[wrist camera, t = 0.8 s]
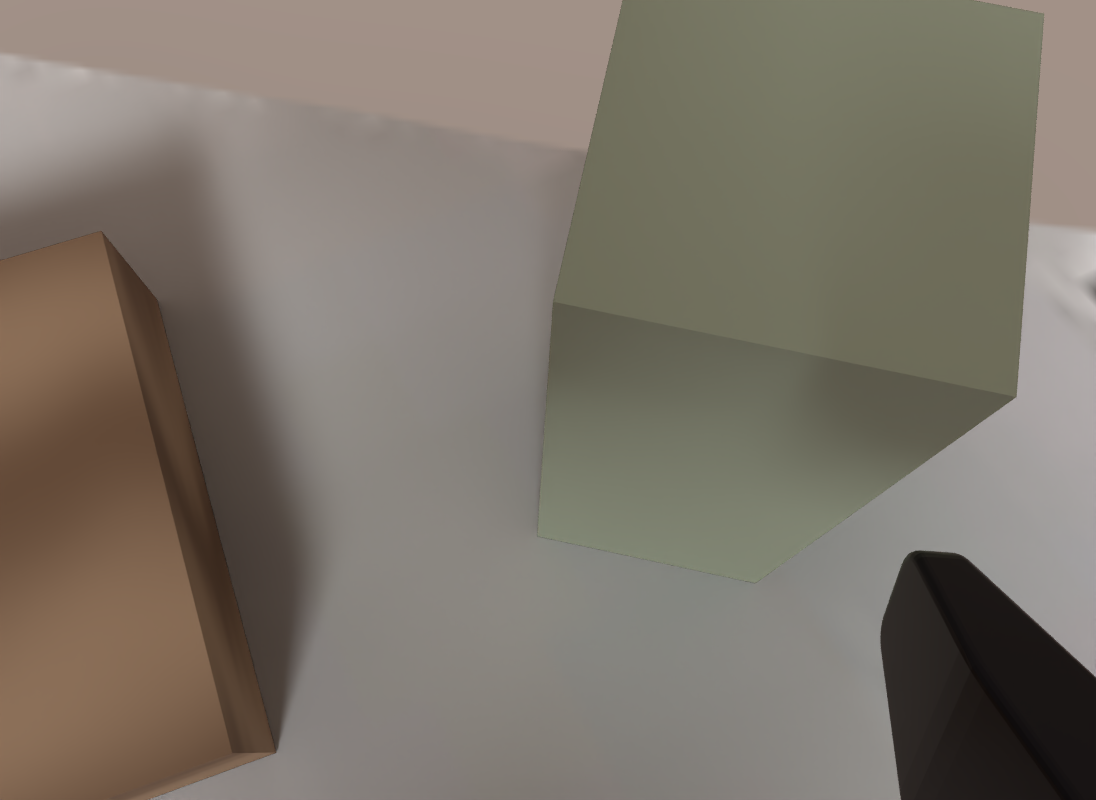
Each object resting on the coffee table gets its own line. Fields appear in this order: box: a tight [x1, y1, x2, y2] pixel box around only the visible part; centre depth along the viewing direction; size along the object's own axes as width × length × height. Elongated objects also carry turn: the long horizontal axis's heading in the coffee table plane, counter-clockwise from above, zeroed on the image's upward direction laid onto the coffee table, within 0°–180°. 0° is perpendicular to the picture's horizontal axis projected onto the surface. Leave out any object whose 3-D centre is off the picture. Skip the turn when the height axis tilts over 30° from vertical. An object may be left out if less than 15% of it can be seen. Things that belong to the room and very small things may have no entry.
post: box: [537, 0, 1044, 583], centre depth 18 cm, size 5×5×13 cm
